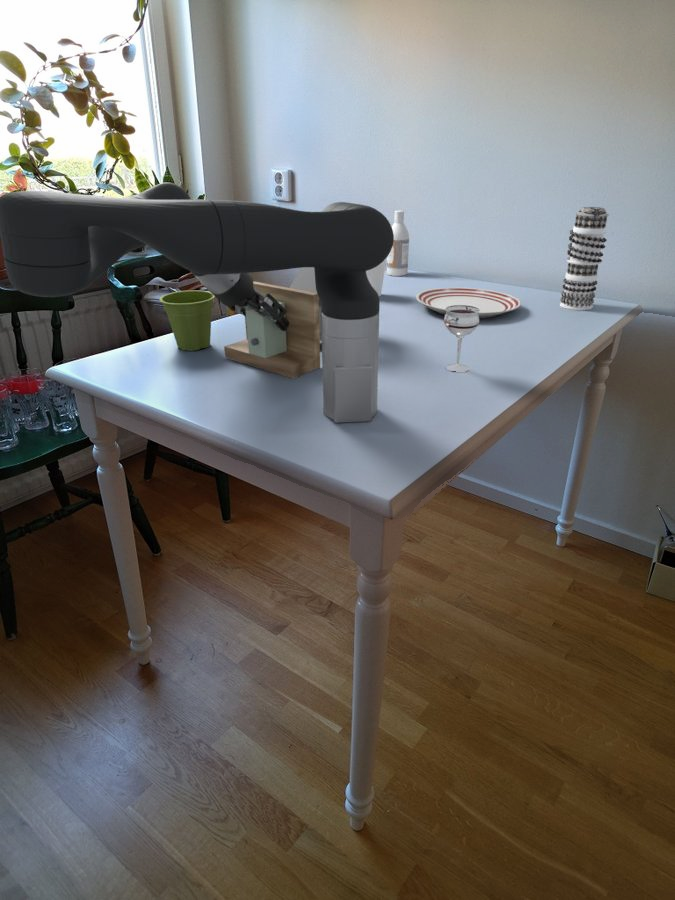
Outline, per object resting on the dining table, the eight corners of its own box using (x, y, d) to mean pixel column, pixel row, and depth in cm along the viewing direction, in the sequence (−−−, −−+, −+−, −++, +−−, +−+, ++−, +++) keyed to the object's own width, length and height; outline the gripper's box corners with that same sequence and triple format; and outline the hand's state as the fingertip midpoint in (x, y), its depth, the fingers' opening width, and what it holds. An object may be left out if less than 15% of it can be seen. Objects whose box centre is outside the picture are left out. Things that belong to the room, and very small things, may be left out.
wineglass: (471, 362, 126) (477, 304, 121) (477, 374, 120) (483, 313, 114) (438, 362, 126) (442, 304, 121) (442, 374, 120) (447, 314, 115)
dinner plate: (506, 297, 176) (507, 285, 174) (531, 323, 152) (533, 310, 150) (411, 297, 177) (412, 286, 175) (421, 324, 152) (421, 311, 151)
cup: (349, 293, 181) (349, 251, 175) (378, 291, 183) (379, 250, 178) (359, 300, 173) (360, 257, 168) (389, 298, 175) (390, 255, 170)
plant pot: (164, 341, 141) (157, 292, 135) (215, 336, 144) (210, 288, 139) (169, 357, 131) (161, 305, 125) (224, 351, 134) (219, 300, 129)
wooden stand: (293, 378, 119) (289, 301, 112) (225, 357, 130) (218, 286, 123) (320, 367, 124) (318, 293, 117) (252, 348, 136) (247, 280, 129)
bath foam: (382, 273, 206) (384, 210, 197) (400, 271, 209) (402, 209, 199) (393, 277, 200) (395, 212, 191) (411, 275, 203) (414, 211, 194)
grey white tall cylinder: (554, 301, 170) (569, 205, 158) (588, 302, 169) (606, 205, 158) (562, 310, 162) (578, 209, 150) (598, 310, 161) (617, 209, 150)
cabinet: (262, 359, 121) (259, 309, 117) (245, 354, 124) (241, 305, 120) (286, 350, 126) (284, 302, 121) (269, 346, 129) (267, 298, 124)
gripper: (188, 287, 114) (238, 332, 127) (239, 298, 106) (288, 345, 119) (207, 254, 115) (255, 302, 129) (259, 262, 107) (305, 313, 120)
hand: (271, 323), depth 124 cm, fingers open, 8 cm apart
